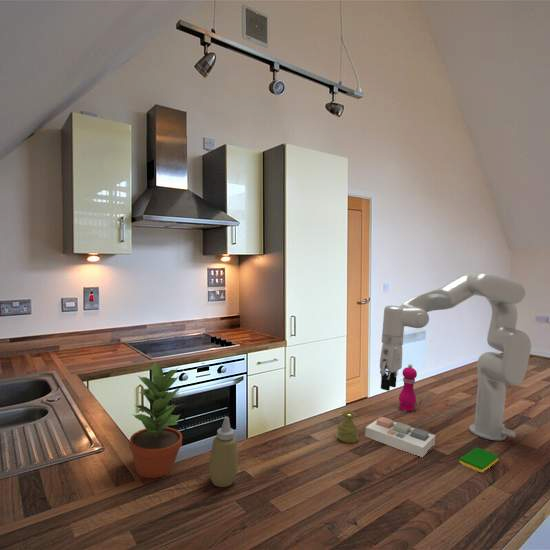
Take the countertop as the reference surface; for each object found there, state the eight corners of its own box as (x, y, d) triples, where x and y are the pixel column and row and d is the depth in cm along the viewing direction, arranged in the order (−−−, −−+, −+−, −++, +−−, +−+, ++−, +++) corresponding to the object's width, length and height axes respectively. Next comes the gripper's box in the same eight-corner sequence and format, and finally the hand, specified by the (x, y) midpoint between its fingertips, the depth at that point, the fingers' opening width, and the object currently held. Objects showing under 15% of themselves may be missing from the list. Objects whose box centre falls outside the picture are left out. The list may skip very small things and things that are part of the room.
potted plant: (153, 490, 103) (160, 376, 101) (116, 469, 111) (122, 364, 109) (194, 466, 115) (200, 365, 114) (158, 449, 123) (163, 355, 122)
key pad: (434, 445, 140) (435, 434, 140) (422, 457, 130) (422, 446, 130) (380, 426, 153) (381, 416, 153) (364, 436, 143) (365, 426, 143)
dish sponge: (498, 462, 131) (499, 455, 131) (481, 475, 122) (482, 468, 122) (476, 453, 137) (476, 446, 137) (458, 465, 128) (459, 458, 127)
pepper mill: (412, 413, 168) (416, 367, 167) (395, 408, 173) (399, 363, 172) (417, 409, 174) (421, 364, 173) (401, 404, 178) (405, 361, 177)
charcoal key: (428, 440, 139) (428, 432, 139) (423, 444, 135) (424, 436, 135) (415, 435, 142) (415, 427, 141) (410, 439, 138) (411, 431, 138)
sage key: (410, 433, 143) (410, 426, 143) (405, 437, 139) (406, 429, 139) (397, 429, 146) (398, 422, 146) (392, 433, 142) (393, 425, 142)
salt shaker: (334, 440, 138) (336, 412, 138) (339, 432, 145) (341, 405, 145) (355, 445, 135) (357, 417, 135) (359, 436, 142) (361, 409, 142)
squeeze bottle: (213, 493, 103) (217, 425, 102) (203, 476, 110) (207, 413, 109) (241, 486, 107) (246, 421, 106) (230, 471, 114) (235, 410, 113)
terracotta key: (393, 428, 147) (393, 420, 147) (388, 431, 143) (388, 424, 143) (381, 424, 150) (382, 416, 150) (376, 427, 146) (376, 420, 146)
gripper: (392, 344, 136) (388, 396, 137) (410, 338, 149) (406, 385, 150) (372, 340, 141) (368, 390, 142) (391, 335, 154) (387, 380, 155)
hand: (388, 387), depth 146 cm, fingers open, 4 cm apart
